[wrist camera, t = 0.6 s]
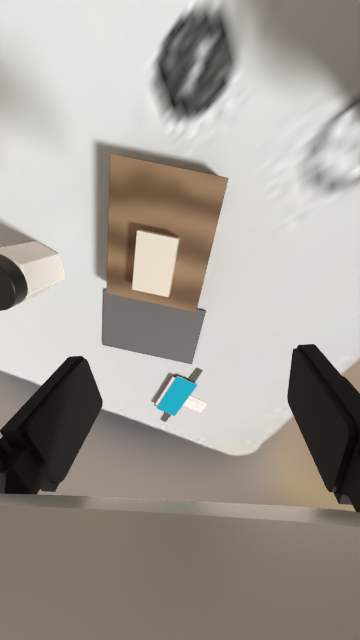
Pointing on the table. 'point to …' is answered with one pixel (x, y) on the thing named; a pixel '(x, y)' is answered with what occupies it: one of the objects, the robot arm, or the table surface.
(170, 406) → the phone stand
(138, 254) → the cream flat block
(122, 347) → the mat
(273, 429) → the table surface
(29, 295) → the jar
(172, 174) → the platform
